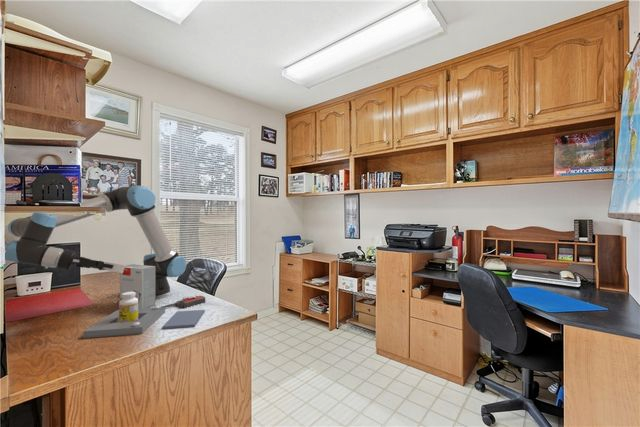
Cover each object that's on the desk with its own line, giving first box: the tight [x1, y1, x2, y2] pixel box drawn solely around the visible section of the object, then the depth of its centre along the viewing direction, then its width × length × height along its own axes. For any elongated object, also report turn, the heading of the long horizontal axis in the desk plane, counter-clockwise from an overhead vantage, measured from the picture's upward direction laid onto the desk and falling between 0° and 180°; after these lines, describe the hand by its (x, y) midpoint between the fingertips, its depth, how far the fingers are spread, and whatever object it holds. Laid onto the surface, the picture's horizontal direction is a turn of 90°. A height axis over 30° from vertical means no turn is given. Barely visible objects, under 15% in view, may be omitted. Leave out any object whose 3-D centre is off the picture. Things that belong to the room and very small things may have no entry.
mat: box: [161, 309, 206, 330], centre depth 122 cm, size 18×12×1 cm, turn 10°
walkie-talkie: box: [161, 295, 206, 309], centre depth 141 cm, size 9×4×20 cm
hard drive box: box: [119, 264, 156, 309], centre depth 141 cm, size 16×8×20 cm, turn 72°
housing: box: [82, 305, 166, 339], centre depth 118 cm, size 24×20×4 cm
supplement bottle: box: [118, 292, 139, 322], centre depth 118 cm, size 7×7×13 cm
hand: (123, 269), depth 121 cm, fingers open, 13 cm apart
